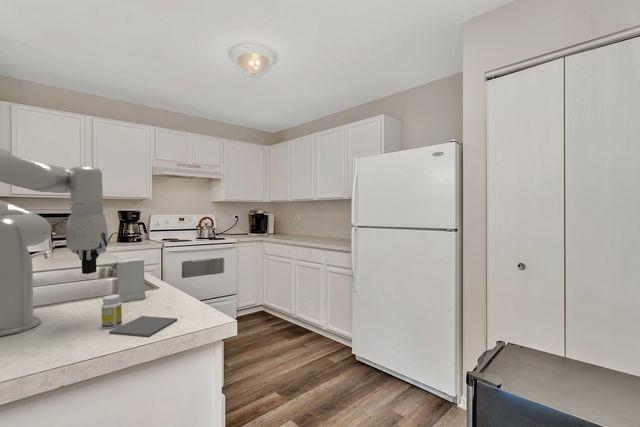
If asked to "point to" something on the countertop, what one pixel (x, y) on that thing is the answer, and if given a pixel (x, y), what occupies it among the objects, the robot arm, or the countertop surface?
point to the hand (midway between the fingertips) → (89, 272)
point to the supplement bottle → (111, 311)
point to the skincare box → (131, 279)
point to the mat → (143, 326)
